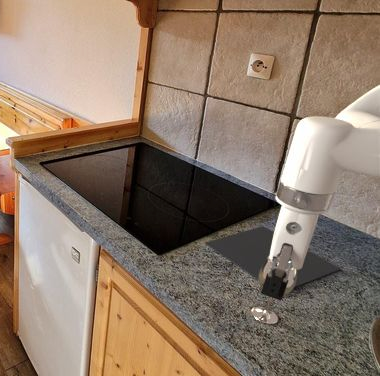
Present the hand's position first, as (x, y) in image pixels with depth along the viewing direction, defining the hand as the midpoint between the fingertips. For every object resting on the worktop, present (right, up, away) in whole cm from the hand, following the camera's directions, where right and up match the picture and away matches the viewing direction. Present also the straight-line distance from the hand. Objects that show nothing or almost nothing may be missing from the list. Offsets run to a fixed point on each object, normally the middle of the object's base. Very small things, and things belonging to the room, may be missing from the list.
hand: (275, 282), depth 72 cm
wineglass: (0, -7, +3) cm, 8 cm away
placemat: (+11, +1, +21) cm, 23 cm away
